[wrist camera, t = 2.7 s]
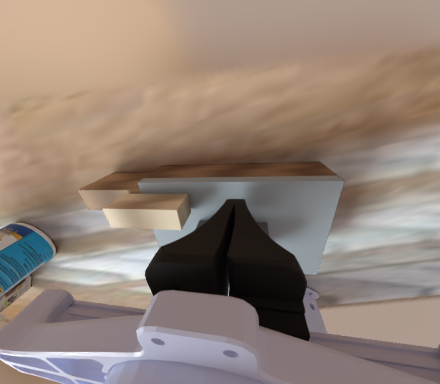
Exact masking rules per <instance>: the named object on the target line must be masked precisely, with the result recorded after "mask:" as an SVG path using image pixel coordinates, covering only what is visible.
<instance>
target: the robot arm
mask: <svg viewBox="0 0 440 384" xmlns="http://www.w3.org/2000/svg"><path fill="white" fill-rule="evenodd" d="M145 277H146V280H147V283H148V285H149V287H150V289H151V292H152V294H153V298H152V300H151V302H150V304H149V306H148V308H147V310H146V309H138V308H131V307H123V306H116V305H108V304H101V303H93V302H86V301H78V300H74V297H73V296H72V295H71V294H70V293H69V292H67V291H65V290H60V289H52V288H47V289H45V290H44V291H43V292H42V293H41V294H40V295H38V296H37V297H36V298H35V299H34V300H33V301H32V302H31V303H30V304H29V305H27V306H26V307H25V308H24V309H23V310H22V311H21V312H20V313H19V314H18V315H16V316H15V317H14V318H13V319H12V320H11V321H10V322H9V323H8V324H7V325H6V326H4V327H3V328H2V329H1V330H0V360H1V361H3V362H5V363H6V364H8V365H10V366H12V367H13V368H15V369H17V370H18V371H20V372H23V373H27V374H31V375H35V376H39V377H42V378H46V379H49V380H53V381H56V382H59V383H62V384H440V344H439V346H438V348H431V347H423V346H416V345H408V344H401V343H393V342H386V341H378V340H371V339H363V338H355V337H348V336H340V335H333V334H327V331H326V328H325V325H324V322H323V320H322V317H321V314H320V311H319V308H318V305H317V302H316V299H318V298H319V297H320V296H319V293H317V292H315V291H313V290H311V289H309V288H307V281H306V278H305V275H304V273H303V270H302V268H301V266H300V264H299V262H298V261H297V259H296V257H295V255H294V254H292V253H291V252H289V251H287V250H286V249H284V248H283V247H281V246H280V245H279V244H277V243H276V242H275V241H274V240H272V239H271V238H270V237H269V236H268V235H267V234H266V233H265V232H264V231H263V230H262V229H261V227H260V226H259V225H258V224H257V222H256V221H255V219H254V218H253V216H252V215H251V213H250V211H249V209H248V207H247V205H246V200H245V199H227V200H226V201H225V202H224V204H223V205H222V206H221V207H220V209H219V210H218V211H217V212H216V213H215V214H214V215H213V216H212V217H211V218H210V219H209V220H208V221H207V222H206V223H204V224H203V225H202V226H200V227H199V228H197V229H196V230H194V231H193V232H191V233H189V234H188V235H186V236H184V237H182V238H180V239H178V240H176V241H173V242H171V243H169V244H166V245H164V246H161V247H160V249H159V250H158V251H157V253H156V254H155V256H154V257H153V259H152V261H151V262H150V264H149V266H148V267H147V269H146V271H145ZM228 286H229V287H230V289H229V296H228Z"/></svg>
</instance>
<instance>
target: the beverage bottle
mask: <svg viewBox="0 0 440 384" xmlns="http://www.w3.org/2000/svg"><path fill="white" fill-rule="evenodd" d="M55 254H56V247H55V245H54V243H53V242H52V240H51V239H50V238H49V237H48V236H47V235H46V234H45V233H43V232H42V231H41V230H39V229H37V228H36V227H34V226H31V225H29V224H25V223H12V224H10V225H8V226H6V227H4V228H2V229H0V297H1V296H3V295H4V294H5V293H6V292H8V291H9V290H10V289H12V288H13V287H14V286H15V285H17V284H18V283H19V282H21V281H22V280H23V279H24V278H26V277H27V276H28V275H30V274H31V273H32V272H33V271H35V270H36V269H37V268H39V267H40V266H42V265H43V264H45V263H46V262H48V261H49V260H50V259H52V258H53V257H54V256H55Z"/></svg>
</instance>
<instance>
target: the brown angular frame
mask: <svg viewBox="0 0 440 384" xmlns="http://www.w3.org/2000/svg"><path fill="white" fill-rule="evenodd" d="M270 176H338V175H336V174H335V173H334V172H332V171H331V170H330V169H328V168H327V167H326V166H325V165H323V164H322V163H321V162H288V163H252V164H216V165H180V166H161V167H160V168H158V169H157V170H155V171H154V172H140V173H112V174H110V175H108V176H106V177H104V178H102V179H100V180H98V181H96V182H94V183H92V184H89V185H87V186H85V187H83V188H81V189H79V190H78V191H79V193H80V195H81V197H82V199H83V200H84V202H85V204H86V206H87V208H88V210H103V209H102V208H104V207H105V206H107V205H108V204H109V203H111V202H112V201H114V200H115V199H117V198H118V197H119V196H121V195H122V194H141V192H140V189H139V186H138V182H139V181H141V180H142V179H144V178H201V177H270Z"/></svg>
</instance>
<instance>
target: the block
mask: <svg viewBox="0 0 440 384" xmlns="http://www.w3.org/2000/svg"><path fill="white" fill-rule="evenodd" d="M102 209H103V211H104V213H105V215H106V218H107V220H108V222H109V224H110V226H111V227H115V228H139V229H162V230H182V229H183V227H184V225H185V223H186V221H187V219H188V217H189V215H190V214H191V208H190V202H189V197H188V194H122V195H121V196H119V197H118V198H117V199H115V200H114V201H112V202H111V203H109V204H108V205H107V206H105V207H104V208H102Z"/></svg>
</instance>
